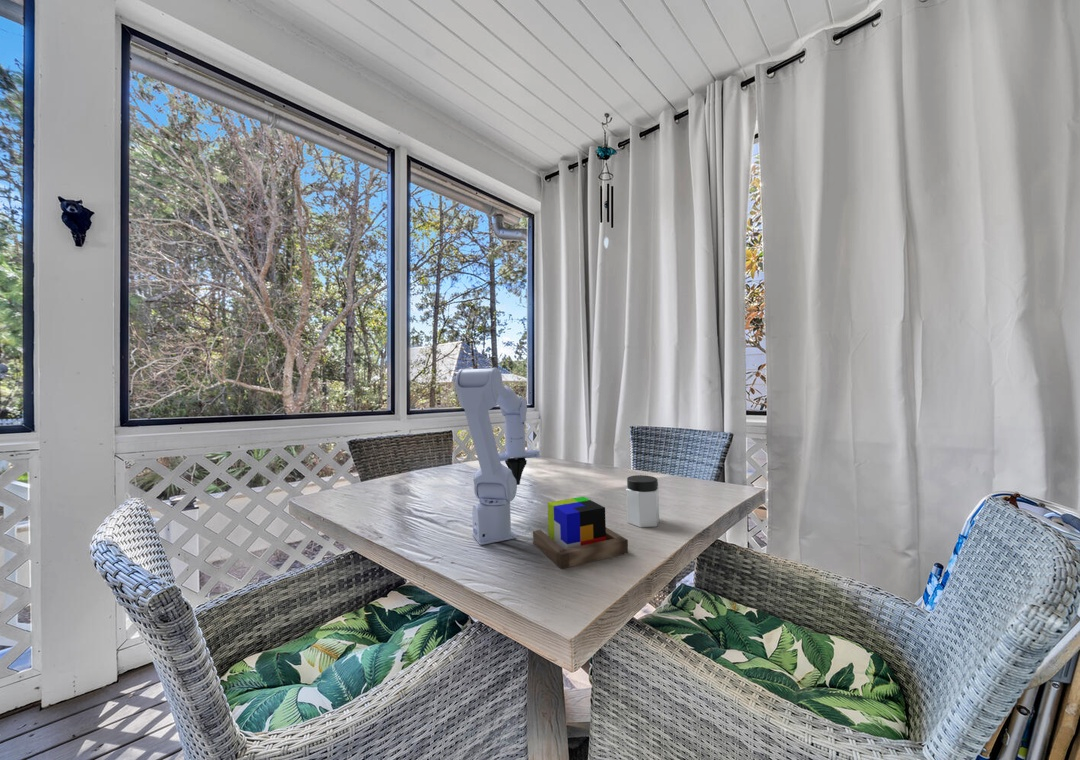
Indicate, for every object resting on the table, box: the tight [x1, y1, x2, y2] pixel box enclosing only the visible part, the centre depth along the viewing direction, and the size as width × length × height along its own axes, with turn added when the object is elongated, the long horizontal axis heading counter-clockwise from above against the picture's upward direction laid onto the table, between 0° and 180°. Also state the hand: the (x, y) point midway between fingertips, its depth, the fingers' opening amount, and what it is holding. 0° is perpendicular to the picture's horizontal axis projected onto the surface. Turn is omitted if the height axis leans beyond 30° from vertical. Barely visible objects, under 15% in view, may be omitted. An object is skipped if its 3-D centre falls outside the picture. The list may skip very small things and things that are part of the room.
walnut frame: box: [532, 527, 629, 570], centre depth 96 cm, size 17×15×3 cm
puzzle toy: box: [547, 496, 607, 549], centre depth 97 cm, size 10×10×10 cm
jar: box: [625, 474, 660, 528], centre depth 112 cm, size 9×8×12 cm
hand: (516, 484), depth 120 cm, fingers closed
